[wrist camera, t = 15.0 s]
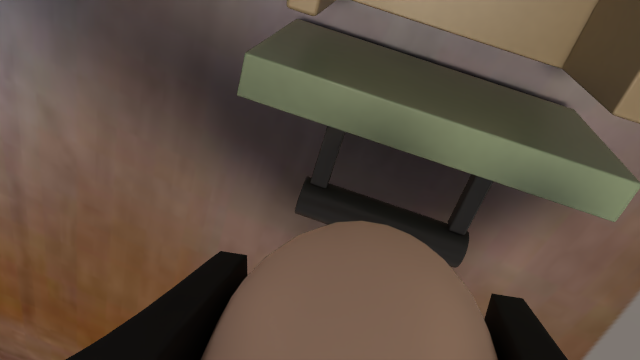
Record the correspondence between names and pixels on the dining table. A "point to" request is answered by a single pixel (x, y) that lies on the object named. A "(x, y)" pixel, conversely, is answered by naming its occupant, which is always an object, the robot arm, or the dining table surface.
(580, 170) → the drawer
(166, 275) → the dining table surface
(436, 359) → the egg
